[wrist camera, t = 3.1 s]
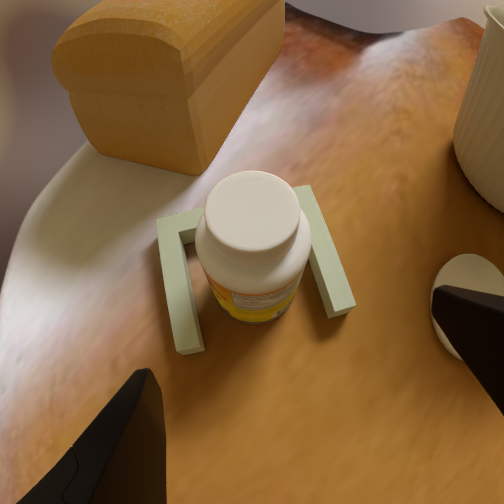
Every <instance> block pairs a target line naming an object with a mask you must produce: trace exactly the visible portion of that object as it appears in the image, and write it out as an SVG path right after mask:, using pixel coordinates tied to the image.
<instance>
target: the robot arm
mask: <svg viewBox="0 0 504 504" xmlns="http://www.w3.org/2000/svg"><path fill="white" fill-rule="evenodd" d="M431 313H432V316H433V318H434V319H435V321H436V322H437V324H438V325H439V327H440V328H441V330H442V331H443V333H444V334H445V336H446V337H447V339H448V340H449V342H450V344H451V345H452V347H453V348H454V349H455V351H456V352H457V353H458V355H459V356H460V357H461V359H462V360H463V361H464V362H465V364H466V365H467V366H468V368H469V369H470V370H471V371H472V373H473V374H474V375H475V377H476V378H477V379H478V381H479V382H480V383H481V385H482V386H483V388H484V389H485V390H486V392H487V393H488V394H489V396H490V397H491V399H492V400H493V401H494V403H495V404H496V406H497V407H498V408H499V410H500V411H501V413H502V414H503V416H504V296H500V295H495V294H490V293H485V292H480V291H475V290H470V289H465V288H460V287H455V286H450V285H441V286H439V287H436V288H435V289H434V290H433V296H432V305H431ZM72 446H73V447H70V448H69V450H68V451H67V452H66V453H65V454H64V456H63V457H62V458H61V459H60V460H59V461H58V462H57V464H56V465H55V466H54V467H53V468H52V469H51V470H50V471H49V472H48V473H47V474H46V475H45V476H44V477H43V478H42V479H41V480H40V481H39V482H38V483H37V484H36V485H35V486H34V487H33V488H32V489H31V490H30V491H29V492H28V493H27V494H26V495H25V496H24V497H23V498H22V499H21V500H20V501H18V502H17V503H16V504H167V496H166V431H165V422H164V412H163V401H162V392H161V389H160V387H159V385H158V383H157V381H156V379H155V377H154V375H153V372H152V371H151V369H149V368H144V369H138V370H136V371H135V372H134V373H133V374H132V375H131V376H130V378H129V379H128V380H127V381H126V382H125V383H124V385H123V386H122V387H121V388H120V389H119V390H118V392H117V393H116V394H115V395H114V396H113V397H112V399H111V400H110V401H109V402H108V403H107V405H106V406H105V407H104V408H103V409H102V410H101V412H100V413H99V414H98V415H97V416H96V418H95V419H94V420H93V421H92V422H91V424H90V425H89V426H88V427H87V428H86V429H85V431H84V432H83V433H82V434H81V435H80V437H79V438H78V439H77V440H76V441H75V443H74V444H73V445H72Z"/></svg>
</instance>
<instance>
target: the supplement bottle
mask: <svg viewBox="0 0 504 504" xmlns="http://www.w3.org/2000/svg"><path fill="white" fill-rule="evenodd" d="M311 241H312V236H311V229H310V225H309V222H308V220H307V217H306V216H305V214H304V212H303V211H302V210H301V208H300V204H299V200H298V198H297V196H296V194H295V192H294V191H293V189H292V188H291V187H290V186H289V185H288V184H287V183H286V182H285V181H283V180H282V179H280V178H279V177H277V176H275V175H273V174H270V173H266V172H262V171H243V172H239V173H235V174H233V175H230V176H228V177H226V178H224V179H223V180H221V181H220V182H219V183H218V184H216V186H215V187H214V188H213V189H212V190H211V192H210V193H209V195H208V197H207V199H206V202H205V207H204V212H203V214H202V215H201V217H200V219H199V222H198V225H197V228H196V233H195V246H196V252H197V255H198V258H199V261H200V263H201V266H202V268H203V270H204V272H205V275H206V277H207V279H208V282H209V284H210V286H211V288H212V290H213V293H214V295H215V297H216V299H217V301H218V303H219V305H220V306H221V308H222V309H223V310H224V311H225V312H226V313H227V314H228V315H229V316H231V317H232V318H234V319H235V320H238V321H240V322H243V323H247V324H262V323H266V322H270V321H272V320H274V319H276V318H278V317H279V316H280V315H282V314H283V313H284V312H285V311H286V310H287V309H288V307H289V306H290V304H291V302H292V300H293V298H294V296H295V293H296V291H297V288H298V285H299V283H300V280H301V277H302V274H303V272H304V269H305V266H306V263H307V260H308V258H309V254H310V250H311Z"/></svg>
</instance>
